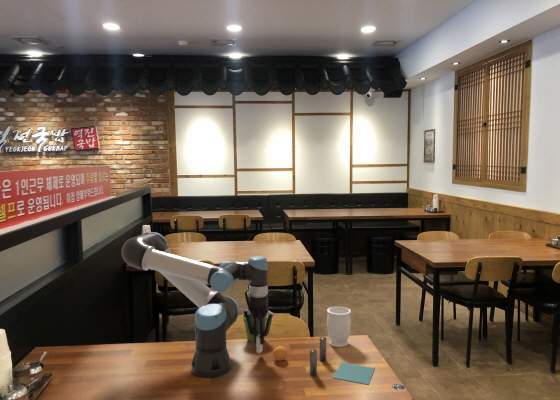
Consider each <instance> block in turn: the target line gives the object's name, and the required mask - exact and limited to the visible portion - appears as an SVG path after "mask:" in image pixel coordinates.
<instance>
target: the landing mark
mask: <svg viewBox="0 0 560 400" xmlns="http://www.w3.org/2000/svg"><path fill="white" fill-rule="evenodd" d="M374 372H375V367H370V366H366V365H365V366H364V365H359V364H353V363H347V362H340V364H339V366H338V368H337V370H336V371H335V372H334V375H333V376H332V379H335V380H342V381H345V382H351V383H356V384H357V383H358V384H361V385H362V384H363V385H367V386H369V385H370V381H371V379H372V377H373V374H374Z"/></svg>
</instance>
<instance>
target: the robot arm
mask: <svg viewBox="0 0 560 400" xmlns="http://www.w3.org/2000/svg"><path fill="white" fill-rule="evenodd" d="M171 249H172V248H171V247H169V246H168V244H167V240H166V238H165V237H164V236H163V235H162V234H161V233H158V232H153V231H151V232H144V233H143V234H140V235H137V236H133V237H130V238H129V239H127V240H126V241H125V242H124V244H123V245H122V248H121V257H122V259H123V261H124V262H125V263H126V264H127V265H129V266H130V267H132V268H136V269H139V270H142V271H148V270H150V271H151V270H152V271H153V270H154V271H157V272H158V273H160V274H161V275H162V276H163V277H165V279H166V280H167V281H168V282H170V283H171V284H172V285H173V286H174V287H176V289H177V290H179V291H180V292H181V293H182V294H183V295H184V296H185V297H186V298H188V299H189V300H190V301H191V302H192V303H193V304H194V305H196V306H197V307H198V308H197V310H196V311H195V314H194V330H195V331H194V336H195V341H194V342H195V350H194V355H193V356H192V357H193V358H192V360H191V363H190V364H191V366H190V368H191V372H192V374H194V375H195V376H197V377H201V378H215V377H220V376H223V375H225V374H227V373H228V372H230V370H232V360H231V357H230V354H229V351H228V348H227V331H228V330H230V328H231V327H232V326H233V325H235V322H236V321H237V319H238V317H239V314H240V308H239V305H238V302H237V301H236V299H234V297H233V298H232V296H228V295H223V294H222V292H225V291H227V290H228V289H231V287H232V286H233V285H234V284H235V283H236V282H237V281H248V287H249V292H248V293H249V297H248V300H249V301H248V302H249V306H248V309H245V310H244V311H243V313H244V314H245V316H246V319H247V323H248V327H249V332H250V334H252V335H254V342H253V343H254V344H255V345H256V353H257V354H261V353H262V352H263V350H264V347H263V345H265V337H267V336H268V335H269V334H270V330H271V324H272V321H273V317H274V315H275V312H272V311H270V308H269V296H268V294H269V289H268V288H269V286H268V277H269V276H268V270H269V267H268V260H267V258H266V257H265V256H261V255H255V256H250V257H249V258H248V261H236V260H235V261H233V260H224V261H223V260H222V261H221V262H220V264H219V266H218V265H217V266H216V265H213V264H210V263H206V262H202V261H199V260H196V259H191V258H187V257H183V256H180V255H177V254H173V253H172V250H171ZM209 286H211V288H212V289H213V290H212V289H211V288H210V287H209ZM251 314H252V315H253V320H254V325H253V320H252V316H251ZM266 314H268V315H267V320H266V325H265V316H266ZM259 328H260V332H259ZM259 333H260V335H258V334H259Z"/></svg>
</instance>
